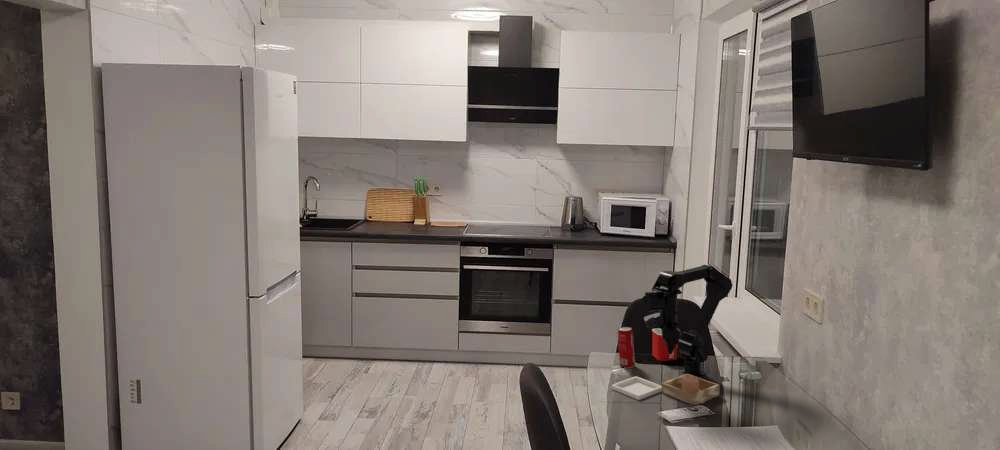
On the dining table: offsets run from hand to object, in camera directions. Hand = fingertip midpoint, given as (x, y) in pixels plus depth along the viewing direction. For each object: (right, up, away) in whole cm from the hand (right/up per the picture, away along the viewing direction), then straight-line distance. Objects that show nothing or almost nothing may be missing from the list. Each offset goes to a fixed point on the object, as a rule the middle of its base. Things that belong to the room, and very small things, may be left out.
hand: (668, 349), depth 245 cm
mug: (+7, -8, +27) cm, 29 cm away
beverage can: (-12, -10, +18) cm, 24 cm away
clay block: (+5, -13, -11) cm, 17 cm away
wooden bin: (+5, -14, -11) cm, 18 cm away
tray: (-12, -13, -6) cm, 19 cm away
